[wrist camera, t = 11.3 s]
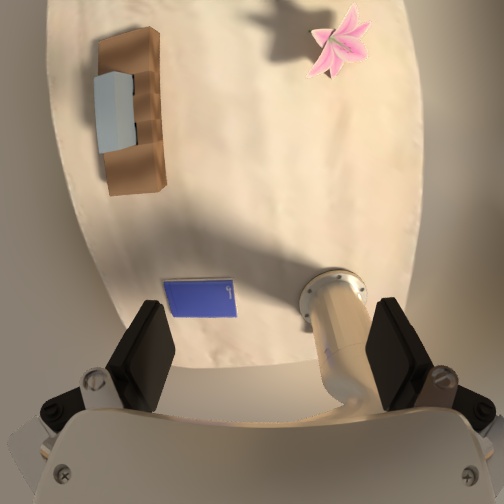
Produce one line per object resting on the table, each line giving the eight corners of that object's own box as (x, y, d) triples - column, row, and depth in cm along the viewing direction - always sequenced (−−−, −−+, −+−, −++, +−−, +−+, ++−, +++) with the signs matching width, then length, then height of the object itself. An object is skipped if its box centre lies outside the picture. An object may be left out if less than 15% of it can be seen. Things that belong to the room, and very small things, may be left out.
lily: (284, 83, 33) (326, 99, 27) (266, 8, 24) (308, 3, 18) (349, 68, 34) (395, 83, 28) (339, 2, 25) (388, 4, 19)
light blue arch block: (147, 141, 36) (119, 150, 28) (129, 143, 36) (99, 153, 28) (143, 77, 31) (114, 71, 24) (125, 81, 32) (93, 77, 24)
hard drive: (232, 281, 46) (162, 282, 47) (237, 318, 50) (173, 318, 50) (233, 276, 47) (165, 277, 48) (238, 312, 51) (175, 312, 52)
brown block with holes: (167, 184, 39) (158, 192, 36) (121, 188, 40) (109, 196, 36) (159, 33, 28) (149, 26, 25) (112, 45, 28) (99, 41, 25)
